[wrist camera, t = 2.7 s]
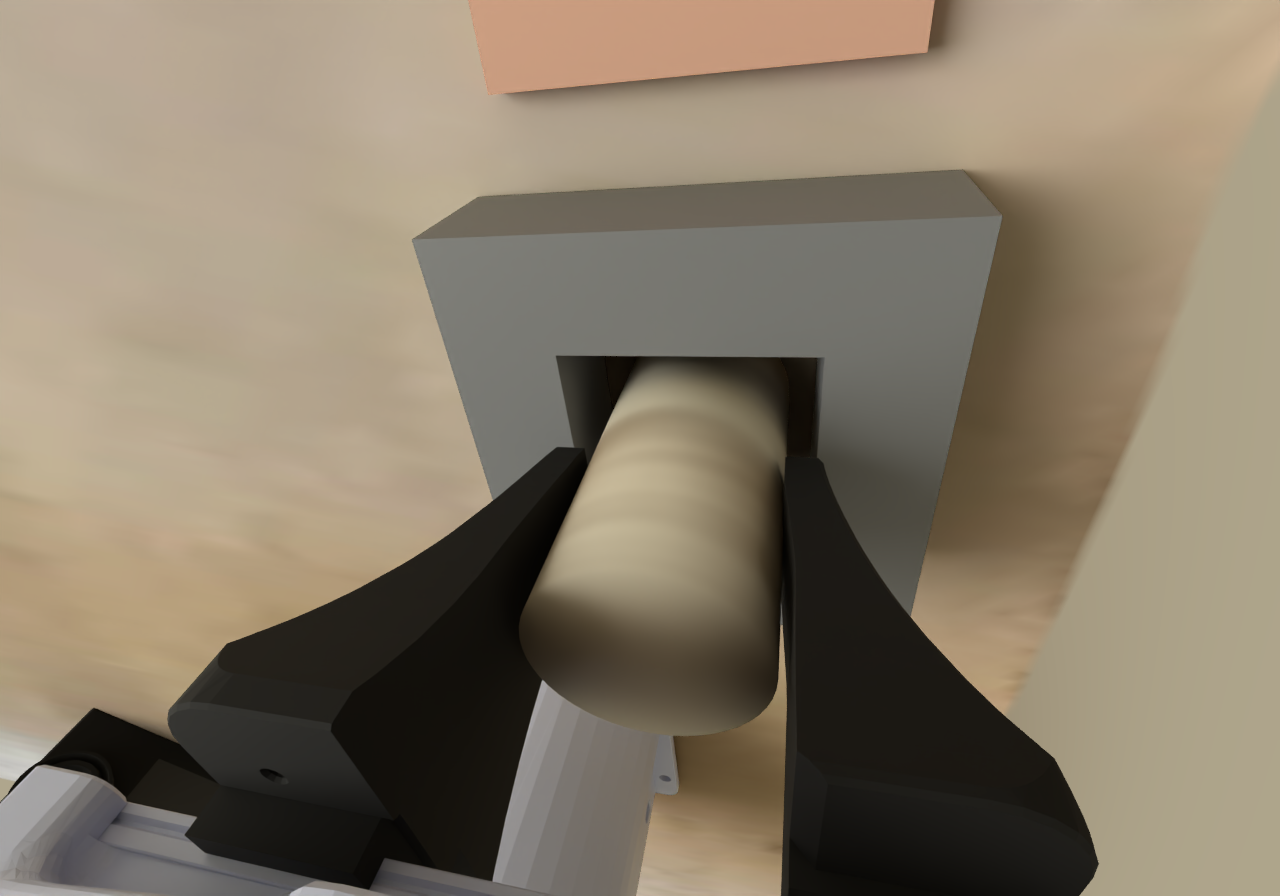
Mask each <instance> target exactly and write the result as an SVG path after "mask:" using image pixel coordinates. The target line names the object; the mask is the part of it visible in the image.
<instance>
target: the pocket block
mask: <svg viewBox="0 0 1280 896" xmlns="http://www.w3.org/2000/svg"><path fill="white" fill-rule="evenodd" d="M1002 217H1003V216H1002V215H1001V213H1000V212H999V211H998V210H997V209H996V208H995V207H994V205H993V204H992V203H991V202H990V201H989V200H988V198H987V197H986V196H985V195H984V194H983V193H982V191H981V190H980V189H979V188H978V187H977V186H976V184H975V183H974V182H973V181H972V180H971V179H970V178H969V176H968V175H967V174H966V173H965V172H964V171H963V170H949V171H932V172H914V173H896V174H878V175H860V176H842V177H825V178H807V179H789V180H771V181H753V182H735V183H718V184H700V185H682V186H664V187H646V188H628V189H611V190H593V191H575V192H557V193H539V194H522V195H504V196H486V197H477V198H476V199H474V200H473V201H471V202H469V203H468V204H466V205H465V206H463V207H462V208H460V209H459V210H457V211H455V212H454V213H452V214H451V215H449V216H448V217H446V218H445V219H443V220H441V221H440V222H438V223H437V224H435V225H434V226H432V227H431V228H429V229H427V230H426V231H424V232H423V233H421V234H420V235H418V236H417V237H415V238H413V239H412V242H413V245H414V248H415V251H416V255H417V258H418V261H419V264H420V268H421V271H422V274H423V277H424V280H425V284H426V287H427V290H428V293H429V296H430V300H431V303H432V306H433V309H434V312H435V316H436V319H437V322H438V325H439V328H440V332H441V335H442V338H443V341H444V345H445V348H446V351H447V354H448V357H449V361H450V364H451V367H452V370H453V373H454V377H455V380H456V383H457V386H458V389H459V393H460V396H461V399H462V402H463V406H464V409H465V412H466V415H467V418H468V422H469V425H470V428H471V431H472V434H473V438H474V441H475V444H476V447H477V450H478V454H479V457H480V460H481V463H482V466H483V470H484V473H485V476H486V479H487V483H488V486H489V489H490V492H491V495H492V499H493V500H494V499H496V498H497V497H498V496H499V495H500V494H502V493H503V492H504V491H505V490H506V489H508V488H509V487H510V486H511V485H512V484H514V483H515V482H516V481H517V480H518V479H519V478H521V477H522V476H523V475H524V474H525V473H526V472H528V471H529V470H530V469H531V468H532V467H533V466H534V465H536V464H537V463H538V462H539V461H540V460H541V459H543V458H544V457H545V456H546V455H547V454H549V453H550V452H551V451H552V450H554V449H555V448H556V447H573V448H585V453H586V459H587V464H588V465H589V463H590V461H591V459H592V456H593V454H594V452H595V450H596V447H597V445H598V443H599V441H600V439H601V436H602V434H603V432H604V430H605V428H606V425H607V423H608V421H609V419H610V416H611V414H612V406H611V399H610V392H609V386H608V379H607V372H606V366H605V359H604V356H693V357H817V366H816V380H815V394H814V408H813V422H812V436H811V450H810V458H819V459H820V460H821V461H822V462H823V463H824V467H825V471H826V474H827V477H828V480H829V483H830V485H831V488H832V490H833V493H834V495H835V497H836V499H837V502H838V504H839V506H840V508H841V510H842V512H843V514H844V516H845V518H846V520H847V522H848V524H849V526H850V527H851V529H852V531H853V533H854V535H855V537H856V539H857V540H858V542H859V544H860V545H861V547H862V549H863V550H864V552H865V554H866V555H867V557H868V558H869V560H870V562H871V563H872V565H873V566H874V568H875V569H876V571H877V572H878V574H879V575H880V577H881V578H882V580H883V581H884V583H885V584H886V586H887V587H888V588H889V590H890V591H891V593H892V594H893V595H894V597H895V598H896V599H897V600H898V602H899V603H900V604H901V606H902V607H903V608H904V610H905V611H906V612H907V613H908V615H909V616H911V612H912V608H913V603H914V599H915V595H916V590H917V586H918V581H919V577H920V573H921V568H922V564H923V560H924V555H925V551H926V547H927V542H928V538H929V534H930V529H931V525H932V521H933V516H934V512H935V508H936V503H937V499H938V495H939V490H940V486H941V482H942V477H943V473H944V469H945V464H946V460H947V456H948V451H949V447H950V442H951V438H952V434H953V429H954V425H955V421H956V416H957V412H958V408H959V403H960V399H961V395H962V390H963V386H964V382H965V377H966V373H967V369H968V364H969V360H970V356H971V351H972V347H973V343H974V338H975V334H976V330H977V325H978V321H979V317H980V312H981V308H982V303H983V299H984V295H985V290H986V286H987V282H988V277H989V273H990V269H991V264H992V260H993V256H994V251H995V247H996V243H997V238H998V234H999V230H1000V225H1001V221H1002ZM780 625H783V621H782V605H781V620H780Z"/></svg>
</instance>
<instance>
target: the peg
mask: <svg viewBox="0 0 1280 896" xmlns="http://www.w3.org/2000/svg"><path fill="white" fill-rule="evenodd" d="M788 414H789V382H788V377H787V373H786V371H785V368H784V365H783V363H782V362H781V360H780V358H779V357H693V356H638V357H637V359H636V361H635V363H634V366H633V368H632V370H631V372H630V374H629V377H628V379H627V381H626V383H625V385H624V388H623V390H622V392H621V394H620V397H619V399H618V401H617V403H616V405H615V408H614V410H613V412H612V414H611V416H610V419H609V421H608V423H607V425H606V428H605V430H604V432H603V434H602V436H601V439H600V441H599V443H598V445H597V447H596V450H595V452H594V454H593V456H592V459H591V461H590V463H589V465H588V467H587V470H586V472H585V474H584V476H583V478H582V481H581V483H580V485H579V487H578V490H577V492H576V494H575V496H574V498H573V501H572V503H571V505H570V507H569V509H568V512H567V514H566V516H565V518H564V521H563V523H562V525H561V527H560V529H559V532H558V534H557V536H556V538H555V540H554V543H553V545H552V547H551V549H550V552H549V554H548V556H547V558H546V560H545V563H544V565H543V567H542V569H541V571H540V574H539V576H538V578H537V580H536V583H535V585H534V587H533V589H532V591H531V594H530V596H529V598H528V600H527V602H526V605H525V607H524V609H523V612H522V614H521V617H520V622H519V638H520V642H521V646H522V649H523V651H524V654H525V656H526V658H527V660H528V661H529V663H530V665H531V666H532V668H533V669H534V670H535V672H536V673H537V674H538V675H539V677H540V678H541V679H542V680H543V681H544V682H545V683H546V684H547V685H548V686H549V687H551V688H552V689H553V690H554V691H555V692H557V693H558V694H559V695H560V696H562V697H563V698H565V699H566V700H568V701H569V702H570V703H572V704H574V705H575V706H577V707H579V708H581V709H582V710H584V711H586V712H588V713H590V714H592V715H594V716H596V717H599V718H601V719H604V720H606V721H609V722H611V723H614V724H617V725H620V726H623V727H626V728H630V729H634V730H638V731H643V732H648V733H654V734H661V735H670V736H700V735H708V734H715V733H719V732H724V731H728V730H730V729H733V728H736V727H739V726H741V725H743V724H745V723H747V722H749V721H751V720H752V719H754V718H755V717H757V716H758V715H759V714H760V713H761V712H762V711H764V710H765V709H766V708H767V706H768V705H769V703H770V702H771V700H772V699H773V697H774V694H775V692H776V689H777V683H778V672H779V646H780V620H781V594H782V569H783V498H784V475H785V457H787V440H788Z"/></svg>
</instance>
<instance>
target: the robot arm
mask: <svg viewBox="0 0 1280 896" xmlns="http://www.w3.org/2000/svg"><path fill="white" fill-rule="evenodd" d="M587 467H588V464H587V459H586V453H585V448H573V447H556V448H555V449H554V450H552V451H551V452H550V453H549V454H547V455H546V456H545V457H544V458H543V459H541V460H540V461H539V462H538V463H537V464H536V465H534V466H533V467H532V468H531V469H530V470H529V471H528V472H526V473H525V474H524V475H523V476H522V477H521V478H519V479H518V480H517V481H516V482H515V483H514V484H512V485H511V486H510V487H509V488H508V489H506V490H505V491H504V492H503V493H502V494H500V495H499V496H498V497H497V498H496V499H494V500H493V501H492V502H491V503H490V504H488V505H487V506H486V507H484V508H483V509H482V510H480V511H479V512H478V513H477V514H475V515H474V516H473V517H471V518H470V519H469V520H467V521H466V522H465V523H463V524H462V525H461V526H459V527H458V528H457V529H456V530H454V531H453V532H451V533H450V534H449V535H447V536H446V537H444V538H443V539H441V540H440V541H439V542H437V543H436V544H434V545H433V546H431V547H429V548H428V549H426V550H425V551H423V552H422V553H420V554H418V555H417V556H415V557H414V558H412V559H411V560H409V561H407V562H406V563H404V564H402V565H401V566H399V567H397V568H395V569H393V570H391V571H390V572H388V573H386V574H384V575H382V576H380V577H379V578H377V579H375V580H373V581H371V582H370V583H368V584H366V585H364V586H362V587H360V588H359V589H357V590H355V591H353V592H351V593H348V594H346V595H344V596H342V597H340V598H338V599H336V600H334V601H332V602H330V603H328V604H325V605H323V606H321V607H319V608H316V609H314V610H312V611H310V612H307V613H305V614H303V615H300V616H298V617H296V618H293V619H291V620H289V621H286V622H283V623H281V624H278V625H275V626H273V627H270V628H268V629H265V630H262V631H260V632H257V633H255V634H252V635H249V636H247V637H244V638H242V639H239V640H236V641H233V642H230V643H227V644H226V645H225V647H224V648H223V649H222V650H221V651H220V652H219V653H218V655H217V656H216V657H215V658H214V659H213V660H212V661H211V663H210V664H209V665H208V666H207V667H206V668H205V669H204V671H203V672H202V673H201V674H200V675H199V676H198V677H197V679H196V680H195V681H194V682H193V683H192V684H191V685H190V687H189V688H188V689H187V690H186V691H185V692H184V693H183V695H182V696H181V697H180V698H179V699H178V700H177V701H176V702H175V704H174V705H173V706H172V707H171V708H170V709H169V712H168V726H169V728H170V730H171V733H172V735H173V736H174V737H175V739H176V740H177V741H178V742H179V744H180V745H181V746H182V747H183V748H184V749H185V750H186V751H187V752H188V753H189V754H190V755H191V756H192V757H193V758H194V759H195V760H196V761H197V762H198V763H199V764H200V765H201V766H202V767H203V768H204V769H205V770H206V771H207V772H208V773H209V774H210V775H211V776H212V777H213V778H214V779H215V780H216V781H217V782H218V783H219V784H220V787H219V788H218V790H217V791H216V792H215V794H214V795H213V796H212V798H211V799H210V800H209V802H208V803H207V805H206V806H205V807H204V809H203V810H202V811H201V813H200V814H199V816H198V817H195V816H190V815H185V814H181V813H176V812H172V811H167V810H163V809H158V808H153V807H149V806H144V805H140V804H135V803H131V802H127V801H126V797H125V796H124V795H123V794H122V793H121V792H120V791H118V790H117V789H116V788H115V787H114V786H112V785H111V784H109V783H108V782H106V781H104V780H102V779H100V778H98V777H96V776H93V775H90V774H87V773H82V772H77V771H72V770H67V769H63V768H58V767H53V766H48V765H41V766H37V767H35V768H34V769H33V770H32V771H31V772H30V773H29V774H28V776H27V777H26V778H25V779H24V780H23V781H22V782H21V783H20V784H19V785H18V786H17V787H16V788H15V789H14V790H13V791H12V792H11V793H10V794H9V795H8V796H7V797H6V798H5V799H4V800H3V801H2V802H1V803H0V896H636V893H637V888H638V882H639V877H640V872H641V866H642V861H643V855H644V850H645V845H646V839H647V834H648V829H649V823H650V818H651V812H652V807H653V802H654V796H655V793H660V794H666V795H675V794H676V793H678V789H679V778H678V770H677V762H676V754H675V747H674V739H673V736H670V735H661V734H654V733H648V732H643V731H638V730H634V729H630V728H626V727H623V726H620V725H617V724H614V723H611V722H609V721H606V720H604V719H601V718H599V717H596V716H594V715H592V714H590V713H588V712H586V711H584V710H582V709H581V708H579V707H577V706H575V705H574V704H572V703H570V702H569V701H568V700H566V699H565V698H563V697H562V696H560V695H559V694H558V693H557V692H555V691H554V690H553V689H552V688H551V687H549V686H548V685H547V684H546V683H545V682H544V681H543V680H542V679H541V678H540V677H539V675H538V674H537V673H536V672H535V670H534V669H533V668H532V666H531V665H530V663H529V661H528V660H527V658H526V656H525V654H524V651H523V649H522V646H521V642H520V638H519V622H520V617H521V614H522V612H523V609H524V607H525V605H526V602H527V600H528V598H529V596H530V594H531V591H532V589H533V587H534V585H535V583H536V580H537V578H538V576H539V574H540V571H541V569H542V567H543V565H544V563H545V560H546V558H547V556H548V554H549V552H550V549H551V547H552V545H553V543H554V540H555V538H556V536H557V534H558V532H559V529H560V527H561V525H562V523H563V521H564V518H565V516H566V514H567V512H568V509H569V507H570V505H571V503H572V501H573V498H574V496H575V494H576V492H577V490H578V487H579V485H580V483H581V481H582V478H583V476H584V474H585V472H586V470H587ZM781 605H782V621H783V636H784V652H785V667H786V683H787V723H786V757H785V790H784V822H783V853H782V884H781V896H1079V895H1080V894H1081V893H1082V892H1083V890H1084V889H1085V888H1086V886H1087V885H1088V884H1089V883H1090V881H1091V880H1092V879H1093V877H1094V874H1095V872H1096V869H1097V867H1098V864H1099V863H1098V860H1097V856H1096V853H1095V849H1094V845H1093V842H1092V838H1091V835H1090V832H1089V829H1088V827H1087V825H1086V822H1085V819H1084V817H1083V815H1082V813H1081V811H1080V808H1079V806H1078V804H1077V802H1076V800H1075V798H1074V796H1073V794H1072V791H1071V789H1070V787H1069V786H1068V784H1067V782H1066V780H1065V778H1064V776H1063V774H1062V772H1061V770H1060V768H1059V766H1058V764H1057V762H1056V761H1055V759H1054V758H1053V757H1052V756H1051V755H1050V754H1049V753H1047V752H1046V751H1045V750H1044V749H1042V748H1041V747H1040V746H1039V745H1038V744H1037V743H1036V742H1034V741H1033V740H1032V739H1031V738H1030V737H1029V736H1027V735H1026V734H1025V733H1024V732H1023V731H1021V730H1020V729H1019V728H1018V727H1017V726H1016V725H1015V724H1013V723H1012V722H1011V721H1010V720H1009V719H1008V718H1006V717H1005V716H1004V715H1003V714H1002V713H1001V712H1000V711H999V710H998V709H996V708H995V707H994V706H993V705H992V704H991V703H990V702H989V701H988V700H987V699H986V698H985V697H984V696H983V695H982V694H981V693H980V692H979V691H978V690H977V689H976V688H975V687H974V686H973V685H972V684H971V683H970V682H969V681H967V680H966V679H965V677H964V676H963V675H962V674H961V673H960V672H959V671H958V670H957V669H956V668H955V667H954V666H953V665H952V663H951V662H950V661H949V660H948V659H947V658H946V657H945V656H944V655H943V654H942V653H941V652H940V651H939V649H938V648H937V647H936V646H935V645H934V644H933V643H932V642H931V641H930V640H929V639H928V638H927V636H926V635H925V634H924V633H923V632H922V631H921V629H920V628H919V627H918V626H917V624H916V623H915V622H914V621H913V620H912V618H911V617H910V616H909V615H908V613H907V612H906V611H905V610H904V608H903V607H902V606H901V604H900V603H899V602H898V600H897V599H896V598H895V597H894V595H893V594H892V593H891V591H890V590H889V588H888V587H887V586H886V584H885V583H884V581H883V580H882V578H881V577H880V575H879V574H878V572H877V571H876V569H875V568H874V566H873V565H872V563H871V562H870V560H869V558H868V557H867V555H866V554H865V552H864V550H863V549H862V547H861V545H860V544H859V542H858V540H857V539H856V537H855V535H854V533H853V531H852V529H851V527H850V526H849V524H848V522H847V520H846V518H845V516H844V514H843V512H842V510H841V508H840V506H839V504H838V502H837V499H836V497H835V495H834V493H833V490H832V488H831V485H830V483H829V480H828V477H827V474H826V471H825V467H824V463H823V462H822V461H821V460H820V459H819V458H804V457H785V475H784V498H783V569H782V594H781Z"/></svg>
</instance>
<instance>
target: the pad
mask: <svg viewBox="0 0 1280 896" xmlns="http://www.w3.org/2000/svg"><path fill="white" fill-rule="evenodd" d="M468 1H469V6H470V10H471V15H472V20H473V25H474V29H475V34H476V39H477V43H478V48H479V53H480V58H481V62H482V67H483V72H484V76H485V81H486V86H487V91H488V95H492V94H502V93H513V92H523V91H533V90H544V89H554V88H564V87H575V86H585V85H595V84H606V83H616V82H626V81H637V80H647V79H657V78H668V77H678V76H688V75H699V74H709V73H719V72H730V71H740V70H750V69H761V68H771V67H781V66H792V65H802V64H812V63H823V62H833V61H843V60H854V59H864V58H874V57H885V56H895V55H905V54H916V53H926V52H927V51H928V44H929V37H930V30H931V23H932V16H933V8H934V1H935V0H468Z"/></svg>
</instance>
